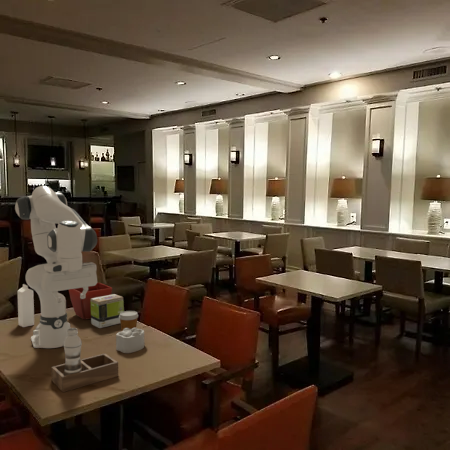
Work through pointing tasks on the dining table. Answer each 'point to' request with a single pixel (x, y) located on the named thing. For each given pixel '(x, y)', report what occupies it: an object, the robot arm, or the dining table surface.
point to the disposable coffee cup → (128, 319)
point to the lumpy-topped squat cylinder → (130, 340)
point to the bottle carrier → (86, 372)
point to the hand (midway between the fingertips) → (70, 300)
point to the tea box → (106, 310)
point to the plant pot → (87, 298)
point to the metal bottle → (72, 352)
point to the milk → (25, 306)
